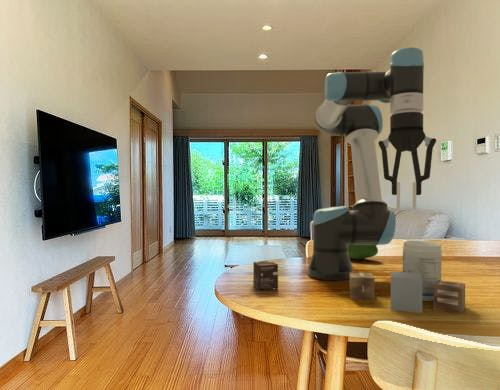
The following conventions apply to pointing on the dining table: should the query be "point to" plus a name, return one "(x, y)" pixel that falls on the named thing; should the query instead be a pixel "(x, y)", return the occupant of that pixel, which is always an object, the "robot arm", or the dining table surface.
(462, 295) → the marked cube right
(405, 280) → the plain block
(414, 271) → the supplement tub
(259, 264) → the box
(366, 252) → the fruit
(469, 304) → the dining table surface
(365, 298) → the marked cube left
